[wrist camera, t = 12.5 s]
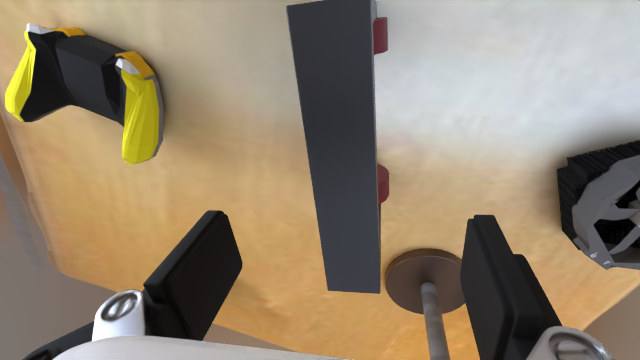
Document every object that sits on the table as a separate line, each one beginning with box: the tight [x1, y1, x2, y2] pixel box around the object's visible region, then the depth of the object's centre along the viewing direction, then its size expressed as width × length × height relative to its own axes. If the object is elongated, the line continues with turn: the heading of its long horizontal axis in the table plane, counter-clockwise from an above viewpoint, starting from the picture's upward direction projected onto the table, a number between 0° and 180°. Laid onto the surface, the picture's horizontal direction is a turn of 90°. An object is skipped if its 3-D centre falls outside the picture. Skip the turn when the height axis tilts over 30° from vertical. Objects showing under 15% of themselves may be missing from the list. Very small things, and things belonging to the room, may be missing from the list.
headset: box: [286, 0, 389, 294], centre depth 23 cm, size 5×17×14 cm, turn 7°
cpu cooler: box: [557, 141, 640, 270], centre depth 26 cm, size 10×6×10 cm
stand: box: [386, 249, 466, 360], centre depth 29 cm, size 10×10×20 cm
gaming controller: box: [5, 24, 164, 165], centre depth 30 cm, size 15×6×10 cm
